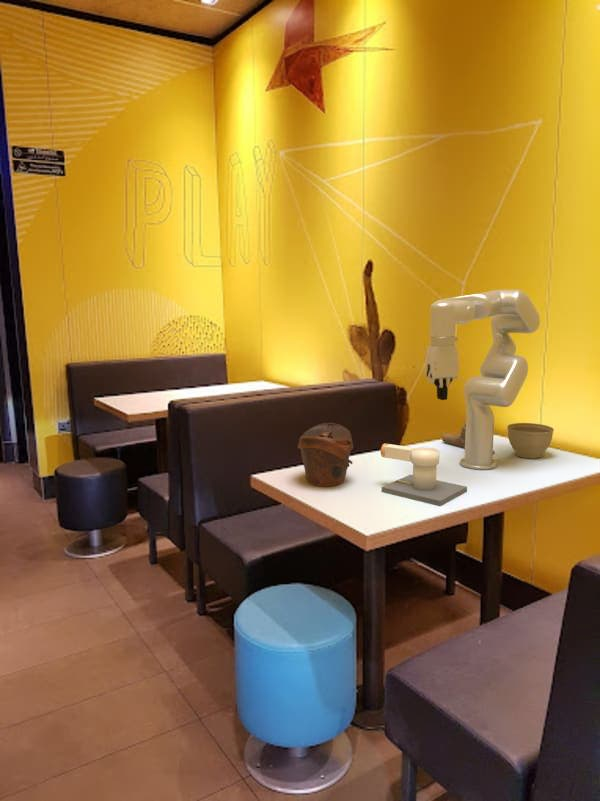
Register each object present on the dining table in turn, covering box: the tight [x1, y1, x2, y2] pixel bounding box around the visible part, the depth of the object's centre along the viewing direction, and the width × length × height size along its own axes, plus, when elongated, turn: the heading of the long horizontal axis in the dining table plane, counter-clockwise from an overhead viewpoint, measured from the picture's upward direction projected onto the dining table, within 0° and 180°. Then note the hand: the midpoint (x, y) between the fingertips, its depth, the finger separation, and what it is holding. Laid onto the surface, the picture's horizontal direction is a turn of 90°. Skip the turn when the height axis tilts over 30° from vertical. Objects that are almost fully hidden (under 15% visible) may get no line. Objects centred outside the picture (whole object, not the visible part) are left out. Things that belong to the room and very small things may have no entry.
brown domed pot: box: [297, 422, 354, 487], centre depth 193 cm, size 18×20×18 cm
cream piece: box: [380, 443, 440, 466], centre depth 184 cm, size 18×8×4 cm, turn 55°
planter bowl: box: [506, 422, 555, 459], centre depth 222 cm, size 16×16×11 cm
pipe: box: [441, 422, 466, 449], centre depth 237 cm, size 6×17×10 cm, turn 33°
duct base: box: [381, 463, 468, 507], centre depth 183 cm, size 17×20×9 cm
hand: (442, 399), depth 191 cm, fingers closed
